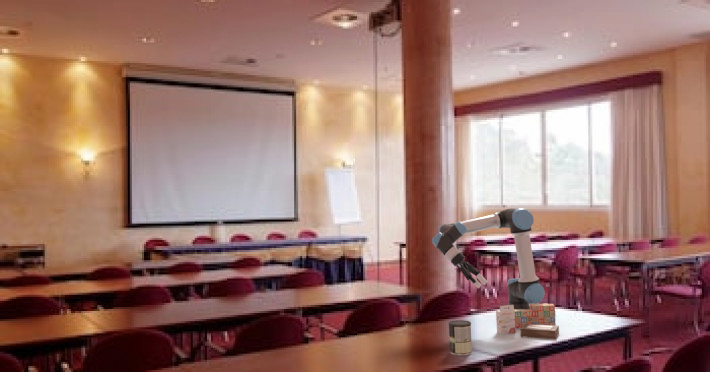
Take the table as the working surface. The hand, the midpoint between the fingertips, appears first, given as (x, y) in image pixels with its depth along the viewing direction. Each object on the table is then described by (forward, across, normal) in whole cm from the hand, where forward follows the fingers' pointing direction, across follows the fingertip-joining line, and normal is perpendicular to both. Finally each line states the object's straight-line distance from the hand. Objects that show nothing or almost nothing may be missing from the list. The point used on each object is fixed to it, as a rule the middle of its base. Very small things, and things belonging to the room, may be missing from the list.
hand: (483, 285), depth 338 cm
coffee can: (+18, +48, -18) cm, 54 cm away
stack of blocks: (+34, -19, -1) cm, 39 cm away
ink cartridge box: (+26, 0, -10) cm, 27 cm away
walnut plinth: (+38, 0, +3) cm, 38 cm away
